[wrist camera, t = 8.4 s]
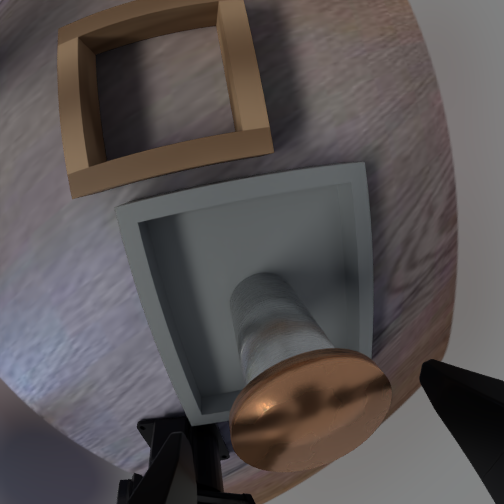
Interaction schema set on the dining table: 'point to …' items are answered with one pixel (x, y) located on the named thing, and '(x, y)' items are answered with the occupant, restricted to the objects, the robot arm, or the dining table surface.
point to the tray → (248, 268)
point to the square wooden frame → (136, 29)
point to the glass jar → (297, 383)
